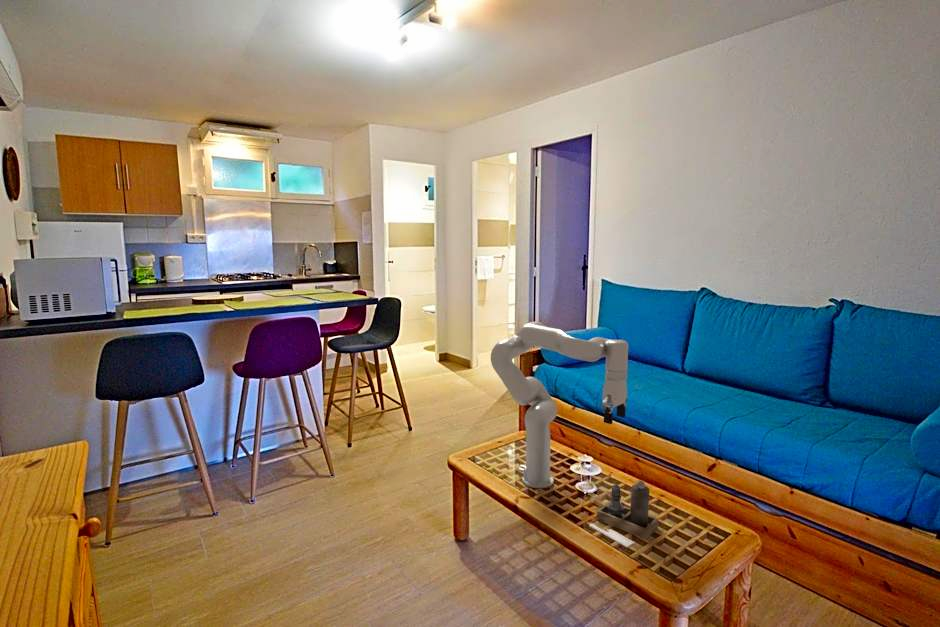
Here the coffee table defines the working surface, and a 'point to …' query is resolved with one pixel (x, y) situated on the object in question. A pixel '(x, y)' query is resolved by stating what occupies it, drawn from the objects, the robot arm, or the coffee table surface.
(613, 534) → the white plastic blade
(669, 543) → the coffee table surface
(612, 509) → the salt shaker
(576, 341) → the robot arm
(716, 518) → the coffee table surface
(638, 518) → the cruet stand
